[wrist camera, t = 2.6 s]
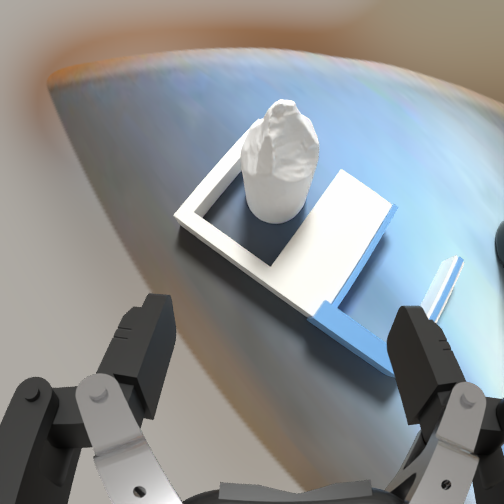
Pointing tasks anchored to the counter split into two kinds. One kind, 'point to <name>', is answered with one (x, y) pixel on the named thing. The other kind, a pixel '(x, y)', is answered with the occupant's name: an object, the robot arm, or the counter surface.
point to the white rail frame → (318, 255)
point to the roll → (279, 162)
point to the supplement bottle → (500, 242)
